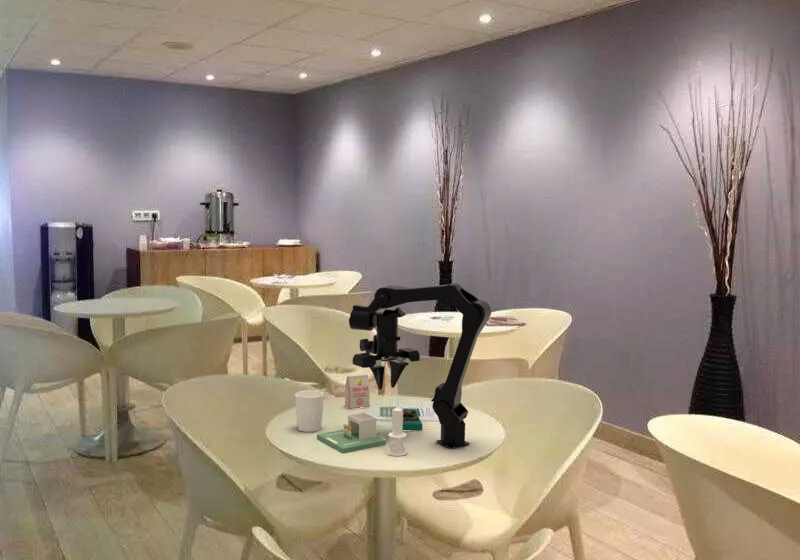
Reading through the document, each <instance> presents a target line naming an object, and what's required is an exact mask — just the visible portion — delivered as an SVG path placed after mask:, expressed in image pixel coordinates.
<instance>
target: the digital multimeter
mask: <svg viewBox="0 0 800 560" xmlns="http://www.w3.org/2000/svg"><path fill="white" fill-rule="evenodd" d="M402 409H403V430H416V431H415V432H421V431H423V422H422V421H421V419H420V416H419V412H418V410H417V409H413V408H402ZM420 430H421V431H420Z"/></svg>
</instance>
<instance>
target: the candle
mask: <svg viewBox="0 0 800 560" xmlns="http://www.w3.org/2000/svg"><path fill="white" fill-rule="evenodd" d="M403 409H404V408H400V407H395V408H393V409H392V414H391V415H392V416H391V419H392V431H391V432H389V433H388V437H390V438H392V439H393V441H392V444H391V445H390V446H389V449H388V450H387V451H386V453H387V455H388V456H393V457H402V456H406V455H407V454H408V452H409V451H407V450H406V447H405V445H404V444H403V441H402V439H403V438H405V437H407V436H408V434H407V433H406V432H404V431H403Z"/></svg>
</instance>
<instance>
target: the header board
mask: <svg viewBox="0 0 800 560" xmlns="http://www.w3.org/2000/svg"><path fill="white" fill-rule="evenodd" d="M316 439H317V440H318V441H321V442H322V443H324V444H325V445H327V446H329V447H331V448H333V449H334V450H336V451H338V452H340V453H341V454H346V453H351V452H356V451H362V450H366V449H371V448H375V447H381V446H386V443H387V442H386V441H387V440H386V439H384V438H382V437H380V436H378V435H376V437H372V438H367V439H362V440H360V439H359V432H358V433H353V434H352V439H351V440H349V438H346V437H344V428H343V429H338V430H333V431H327V432H323V433H322V432H321V433H317V434H316Z"/></svg>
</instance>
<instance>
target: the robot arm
mask: <svg viewBox="0 0 800 560" xmlns="http://www.w3.org/2000/svg"><path fill="white" fill-rule="evenodd" d="M441 300H448V301H449V302H451V304H452V305H453V306H454V307H455V309H456V310H457V311H458V312H459V313H460V314H462V318H461V335H460V338H459V341H458V344H457V347H456V349H455V353H454V355H453V358H452V362H451V364H450V367H449V370H448V374H447V376H446V380H445V382H442V383H440V384H439V385H437V386H436V387H435V389H434V396H433V398H432V399H431V401H430V402H432V405H431V406H432V410H433V412H434V413H435V415H436V416H437V419H438V422H439V424H440V439H437V440H436V441H435V442H436V443H437V444H439V445H442V446H444V447H446V448H448V449H451V450H453V449H457V448H460V447H464V446H465V447H466V446H469V445H470V442H468V441H467V440H466V422H465V419H467V416H468V414H469V410H468V409H467V408H466V407H465V405H464V404H463V403H462V395H463V393H462V392H463V391H462V390H463V388H462V387H463V386H462V385H463V381H464V378H465V375H466V373H467V369H468V367H469V364H470V361H471V357H472V355H473V352H474V349H475V346H476V343H477V340H478V337H479V335H480V334H481V332H482V331H483V330H484V328H485V326H486V324H487V323H488V322H489V321H488V320H490V317H491V315H492V308H491V306H490V304H489V303H488V302H487V301H485V300H481V299H480V298H478V297H477V296H476V295H474V294H473V293H472V292H470V291H467V290H466V289H465V288H463V286H461V285H460V284H459V283H457V282H456V283H455V282H453V283H450V284H449V283H448V284H441V285H440V284H438V285H428V286H427V285H426V286H417V287H408V286H407V287H406V286H401V285H393V284H391V285H386V286H382V287H379V288H377V290H376V291H375V292H374V297H373V299H372V301H371V302H370V304H369V305H368V306H365V305H361V304H354V305H352V311H351V312H350V315H349V317H348V326H349V328H350V329H351V330H355V331H357V330H358V331H369V332H372V331H373V330H374V329H375V328H376V334H374V335H373V338H372V339H373V340H369V338H362V339H359V351H360V352H364V353H356V354H354V355H353V357H352V365H354V366H356V367H359V368H363V369H366V368H368V369H370V370H371V372H372V375H373V378H374V380H375V384H376V386H377V389H378V390H379V391H381V390H382V388H383V385H384V376H385V366H384V365H382V363H383V362H387V361H388V363H389V366H390V388H392V389H393V388H395V386H396V385H397V383H398V381H399V379H400V377H401V375H402V373H403V372H404V369H405V368H406V366H409V362H406V361H407V360H406V359H408V360H409V361H410V362H411V363H413V362H420V360H421V354H420V351H419V350H417V349H414V348H410V347H404V348H399V349H398V342H399V341H401V336H400V335H399V336H398V333H399V332H398V331H399V330H398V329H399V318H403V317H405V316H406V312H404V311H403V310H402V309H401V307H396V306H400V305H405V304H407V303H415V302H416V303H417V302H418V303H419V302H428V301H441ZM393 307H396V308H395V309H391V308H393ZM380 310H384V311H383V312H382V311H380Z"/></svg>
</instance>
